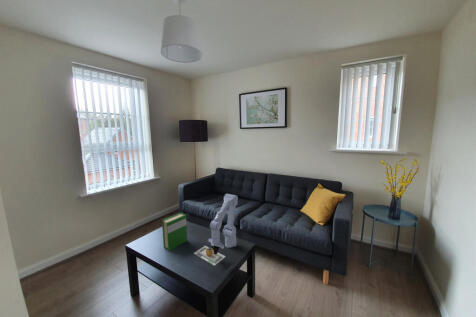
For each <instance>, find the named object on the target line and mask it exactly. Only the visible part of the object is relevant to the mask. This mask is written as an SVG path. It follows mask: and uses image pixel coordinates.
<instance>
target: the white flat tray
mask: <svg viewBox="0 0 476 317" xmlns="http://www.w3.org/2000/svg"><path fill="white" fill-rule="evenodd" d="M209 247H210V246H209ZM209 247H208V246H206V245H204V246H203V247H201V248H200V249H198V250H197V251H195V252H193V254H194V255H196V256H198V257H199V258H201V259H202V260H205V261H206V262H208V263H209V264H211V265H213V267H214V266H216V265H217V264H218V263H220V262H221V261H222V260H224V258H226V255H224V254H221V253H219V252H218V254H216V255H215V254H214V251H213V254H212V255H211V256H209V257H208V256H207V255H206V249H208V248H209Z"/></svg>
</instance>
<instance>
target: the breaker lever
mask: <svg viewBox="0 0 476 317" xmlns="http://www.w3.org/2000/svg"><path fill="white" fill-rule="evenodd" d="M212 254H213V249H212V247H211V246H209V248H208V249H206V255H207V256H208V257H209V256H211V255H212Z"/></svg>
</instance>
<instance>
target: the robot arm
mask: <svg viewBox="0 0 476 317" xmlns="http://www.w3.org/2000/svg"><path fill="white" fill-rule="evenodd" d="M238 199H239V197H238V195H235V194H231V193H225V194H224V196H223V203H222V206H221V207H220V211H217V213H216V214H215V217H214V219H213V220H211V222H210V223H209V228H210V231H211V238H210V237H209V238H208V239H207V243H209V244H210V248H212V249H213V251H214V254H215V255H216V254H218V253H219V250H220V248H221V249H222V250H223V249H225V247H226V248H233V247H236V246H238V244H237V235H236V234H237V228H236V226H235V225H234V222H235V215H236V214H235V213H236V208H237V207H236V206H237V205H238V201H239V200H238ZM227 209H228V213H227V214H228V216H227V222H226V224H225V225H224V226H223V229H222V235H223V236H224V244H223V243H222V242H221V236H220V235H221V234H220V229H221V227H222V224H223V220H224V218H225V213H226V211H227Z"/></svg>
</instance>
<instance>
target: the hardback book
mask: <svg viewBox="0 0 476 317" xmlns="http://www.w3.org/2000/svg"><path fill="white" fill-rule="evenodd" d="M161 223H162V224H161V225H162V240H163V249H165V248H166V249H167V250H168V252H170V251H172V250H174V249H176V248H178V247H179V246H181V245H183V244H184V243H186V242H188V229H187V228H188V227H187V214H185V213H182V212H179V213H176V214H174V215H171V216H169V217H166V218H164V219H162V220H161Z"/></svg>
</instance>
